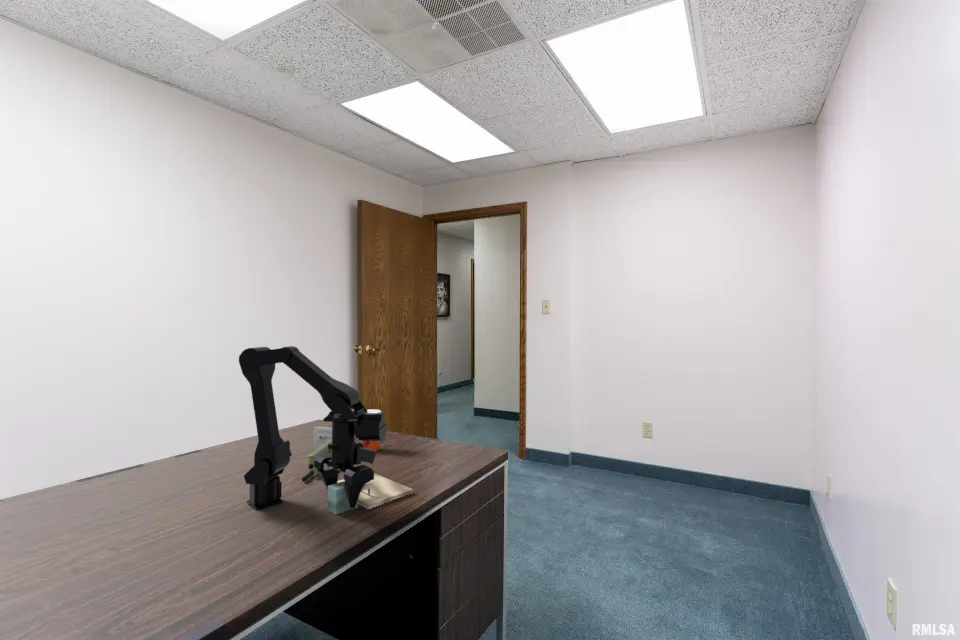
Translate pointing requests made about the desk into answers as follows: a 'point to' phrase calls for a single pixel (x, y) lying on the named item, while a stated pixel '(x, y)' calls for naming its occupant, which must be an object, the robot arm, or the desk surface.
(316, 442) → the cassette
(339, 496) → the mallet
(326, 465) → the robot arm
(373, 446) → the paper cup
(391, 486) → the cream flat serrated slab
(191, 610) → the desk surface
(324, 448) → the handheld radio
